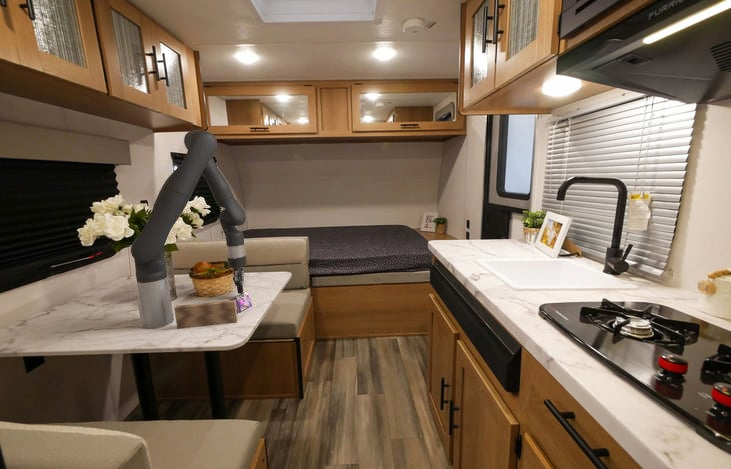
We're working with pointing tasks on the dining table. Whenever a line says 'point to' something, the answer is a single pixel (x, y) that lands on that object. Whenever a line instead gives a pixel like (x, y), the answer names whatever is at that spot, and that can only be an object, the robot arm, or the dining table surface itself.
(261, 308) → the dining table surface
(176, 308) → the walnut board
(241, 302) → the purple crystal
